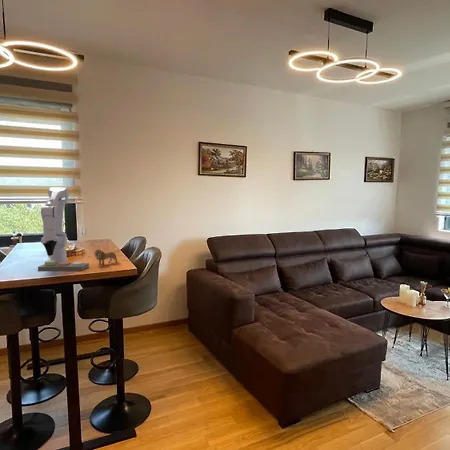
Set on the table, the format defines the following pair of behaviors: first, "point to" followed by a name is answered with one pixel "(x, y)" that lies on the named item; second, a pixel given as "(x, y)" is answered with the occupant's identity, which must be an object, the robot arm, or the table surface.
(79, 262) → the cream button
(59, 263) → the terracotta button
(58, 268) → the button panel
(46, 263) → the sage button
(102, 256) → the lion figurine
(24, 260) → the table surface
